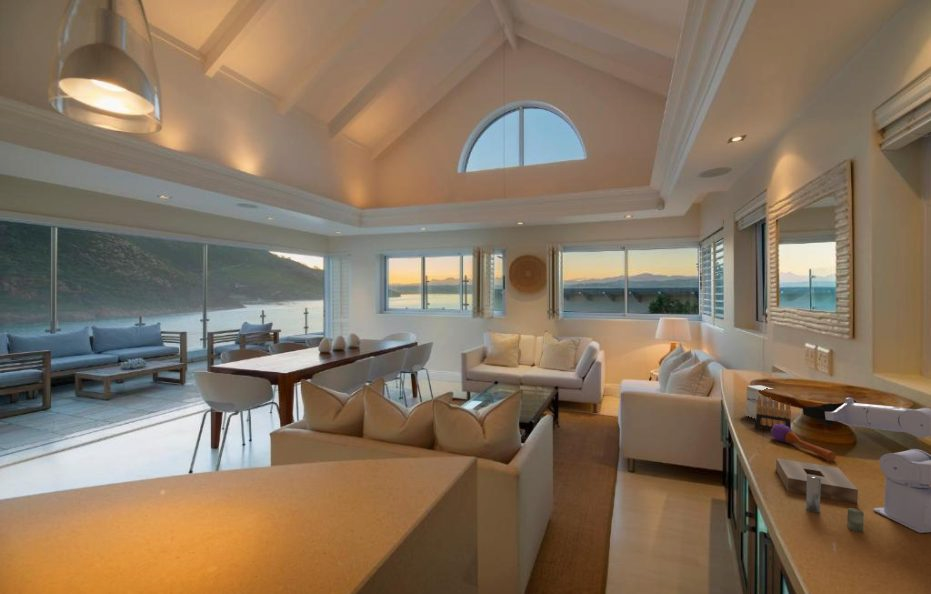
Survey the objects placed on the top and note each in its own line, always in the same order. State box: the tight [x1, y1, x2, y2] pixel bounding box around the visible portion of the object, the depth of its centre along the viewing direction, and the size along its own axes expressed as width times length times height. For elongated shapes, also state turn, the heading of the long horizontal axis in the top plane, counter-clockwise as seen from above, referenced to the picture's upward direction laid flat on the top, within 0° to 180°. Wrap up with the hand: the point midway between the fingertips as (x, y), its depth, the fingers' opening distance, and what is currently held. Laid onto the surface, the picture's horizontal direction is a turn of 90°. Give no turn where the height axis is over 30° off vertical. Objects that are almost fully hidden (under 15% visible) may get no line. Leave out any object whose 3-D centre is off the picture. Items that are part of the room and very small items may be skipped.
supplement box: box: [745, 385, 775, 420], centre depth 171 cm, size 7×7×13 cm
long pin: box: [805, 475, 821, 514], centre depth 101 cm, size 3×3×8 cm
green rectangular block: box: [846, 507, 865, 533], centre depth 94 cm, size 3×3×4 cm
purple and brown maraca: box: [770, 423, 837, 462], centre depth 139 cm, size 6×6×20 cm
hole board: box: [775, 457, 859, 504], centre depth 114 cm, size 14×14×4 cm
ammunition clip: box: [754, 396, 792, 430], centre depth 158 cm, size 11×2×12 cm, turn 54°
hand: (813, 409), depth 116 cm, fingers open, 7 cm apart
